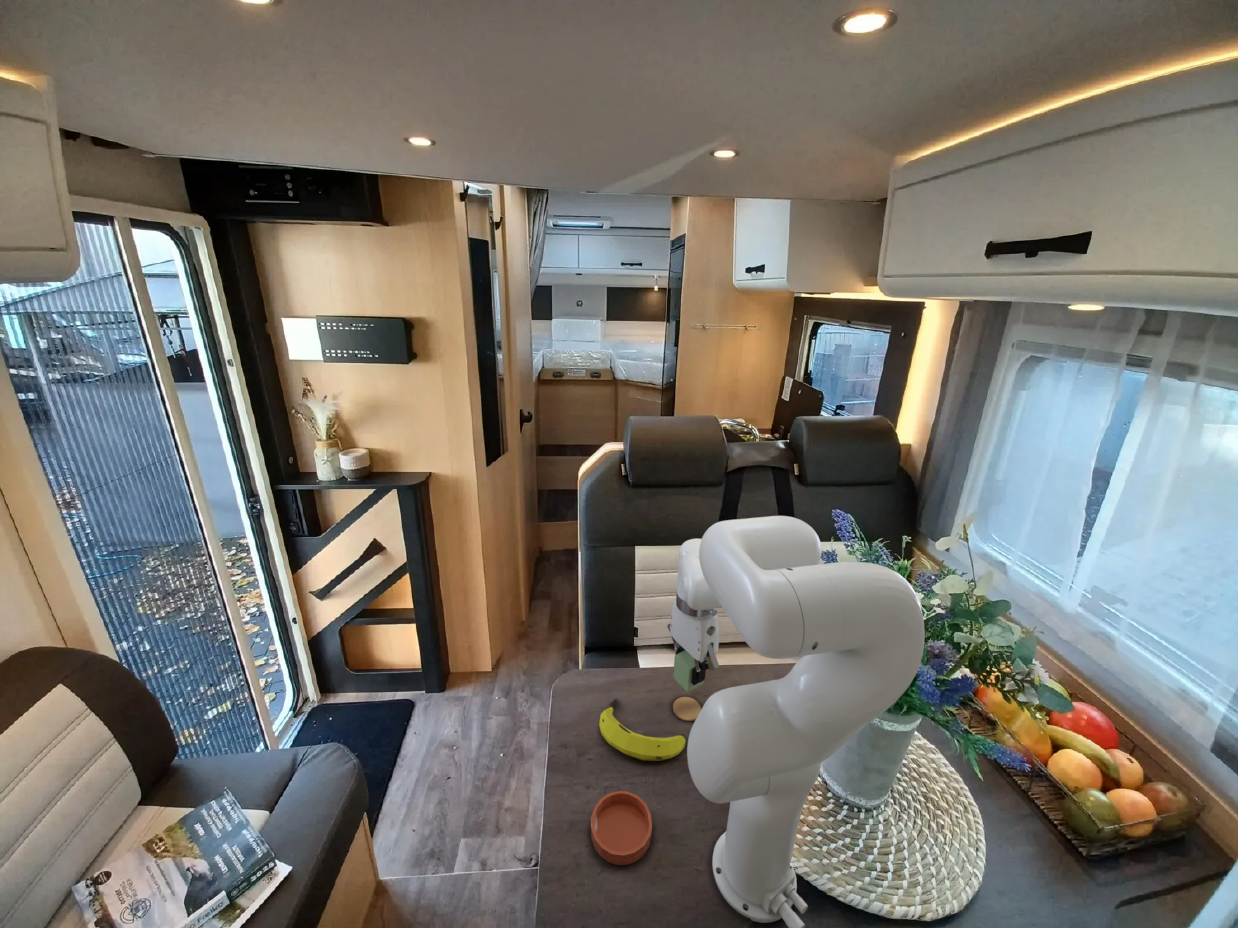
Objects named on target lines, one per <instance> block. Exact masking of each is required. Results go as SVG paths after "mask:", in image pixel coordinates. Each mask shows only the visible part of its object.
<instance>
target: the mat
mask: <svg viewBox="0 0 1238 928" xmlns="http://www.w3.org/2000/svg"><path fill="white" fill-rule="evenodd" d="M701 709H702V707H701V704H700V702H698V701H697V700H696V699H694V698H693V697H690V696H681V697H678V698H677V699H676V700H674V702H673V704H672V710H673V713H674V716H676V717H677V718H678V719H680V720H681V721H684V722H693V721H694V722H695V720H696V719H697V717H698V715H699V713H700V711H701Z"/></svg>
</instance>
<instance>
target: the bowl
mask: <svg viewBox="0 0 1238 928" xmlns="http://www.w3.org/2000/svg"><path fill="white" fill-rule="evenodd" d="M652 819H653V818H652V813H651V811H650V809H649V807H648V804H647V803H646V802H645V801H644V800H643V799H642V798H641V797H640V796H639V795H637V794H635V793H633V792H631V791H626V790H617V791H612V792H609V793H607V794H606V795H604V796H603V797H601V798H600V799H599V800H598V801H597V803H596V804H595V805H594V807H593V810H592V813H591V816H590V838H591V841H592V845H593V847H594V849H595V851H596V852H597V854H598V855H599V856H600V857H601V859H603V860H604V861H606V862H608V863H609V864H612V865H617V866H626V865H631V864H634V863H635V862H637V861H638V860H640V859H641V858H642V857H643V856H644V855H645V854H646V853H647V851H648V849H649V848H650V845H651V841H652V837H653V820H652Z"/></svg>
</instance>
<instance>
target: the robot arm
mask: <svg viewBox="0 0 1238 928" xmlns="http://www.w3.org/2000/svg"><path fill="white" fill-rule="evenodd" d="M822 550H823V549H822V543H821V539H820V538H819V535H818V534H817V532H816V530H814V528H813V526H810V524H808V523H807V522H806V521H803V520H802V519H799V518H797V517H793V516H788V515H769V516H759V517H750V518H749V517H748V518H737V519H728V520H727V519H725V520H721V521H718V522H715V523H713V524H712V525H711V526H710V527H708V528H707V530H706V531H705V532H704V533H703V535H702V537H701V538H691V539H687V540H685V541H684V542H683V543H682V544H681V545H680V547H679V550H678V551H679V552H678V566H677V581H676V582H677V583H676V594H675V595H676V597H675V599H674V602H673V605H672V608H671V609H672V610H671V615H670V622H669V623H668V624H667V629H668V632H669V633H670V636H671V639H672V643H673V650H674V651H675V652H674V654H675V655H676V654H678V653H680V652H682V651H684V650H686V651H687V652H688V653H689V654H690V655H691V656H692V657H694V663H695V668H693V672H692V684H693V685H696V684H698V683H701V682H703V681H704V679H706V673H707V670H709V671H715V670H717V669H719V668H720V664H719V661H718V659H717V655H718V653H719V646H720V624H719V617H718V610H717V609H721V608H722V609H723V610H724V612H725V614H726V615H727V616H728V618H729V619H730V621H731V623H732V625H733V626H734V628H735V629H736V631H737V632H738V634H739V635H740V636H741V638H742V639H743V641H744V642H745V643H746V644H747V646H748V647H750V649H751V650H752V651H754V652H755V653H756V654H758V655H759V656H761V657H764V658H768V659H773V660H785V659H787V660H788V659H794V658H799V657H801V658H800V659H798V660H797V661H796V663H795V664H794V665H793V667H792V668H791V670H790V671H789V672H788V673H787V674H786V675H785V676H784V677H781V678H778V679H772V680H766V681H761V682H755V683H749V684H742V685H736V686H731V687H726V688H723V689H720V690H718V691H716V692H714V693H712V694H711V695H710V696H709V697H708V698H707V700H706V701H705V702H704V704H703V705H702V707H701V711H700V713H699V715H698V717H697V719H696V720H694V722H693V724H692V726H691V728H690V731H689V735H688V740H687V747H686V749H687V751H686V758H687V766H688V772H689V774H690V777H691V779H692V782H693V784H694V786H695V788H696V789H697V790H698V792H699V793H700V794H701V795H702V796H703V798H705V799H706V800H707V801H709V802H710V803H714V804H728V803H729V810H728V817H727V824H726V830H725V832H723V833H722V834H721V835H720V836H719V838H718V839H717V840H716V843H715V845H714V848H713V853H712V858H711V859H712V861H711V866H712V873H713V874H712V875H713V878H714V882H715V884H716V886H717V888H718V890H719V891H720V894H721V895H722V897H723V898H724V900H725V901H726V903H728V905H729V906H730V907H732V909H734V910H735V911H736V912H737V913H739V914H741V915H742V916H744V917H745V918H747V919H750V921H753V922H757V923H761V924H767V923H773V922H777V921H779V920H781V919H782V920H783V922H784V923H785V925H786V926H787V928H805V927H806V924H805V923H804V922H803V920H802V919H801V918H800V917H799V916H798V914H797V913H796V912H795V911H794V910H793V909H792V907H793V905H794V906H795V908H796V909H797V911H798V912H799V913H800V914H801V915H804V914H805V913H806V911H807V910H808V907H809V905H808V903H806V901H805V900H804V899H803V898H802V896H800V895H799V894H798V893H797V888H798V883H797V874H796V869H795V867H794V866H793V867H794V868H793V867H792V866H790V863H791V861H792V858H793V853H794V850H795V843H796V839H797V835H798V831H799V825H800V822H801V818H802V813H803V809H804V806H805V803H806V800H807V798H808V796H809V795H810V793H811V791H812V790H813V788H814V786H815V784H816V782H817V780H818V777H819V774H820V771H821V766H822V762H825V761H826V760H827V759H828V758H830V757H831V756H832V755H834V754H835V753H836V752H837V751H838V750H840V748H842V747H843V746H844V745H846V744H847V743H848V742H849V741H851V739H853V738H854V737H855V736H856V735H857V734H858V733H860V731H862V730H863V729H864V728H865V727H867V726H868V725H870V723H872V722H873V721H874V720H876V719H877V718H878V717H880V716H881V715H882V714H884V713H885V712H886V711H888V709H890V707H892V706H893V705H894V704H895V703H896V702H897V701H898V700H899V699H900V698H901V697H902V696H903V694H904V693H905V692H906V691H907V690H908V689H909V687H910V685H911V684H912V682H913V680H914V678H916V676H917V673H918V671H919V669H920V666H921V663H922V659H923V656H924V650H925V649H924V648H925V638H926V637H925V621H924V615H923V610H922V605H921V603H920V599H919V597H918V595H917V593H916V591H915V589H914V588H913V586H912V585H911V583H909V581H908V580H907V579H906V578H905V577H904V576H902V575H901V574H900V573H898V572H897V571H896V570H893V569H891V568H889V567H887V566H884V565H881V564H877V563H873V562H865V561H839V562H829V563H822V564H821V563H820V562H821V557H822ZM675 655H674V656H675ZM700 662H701V663H700ZM704 682H705V681H704ZM794 869H795V870H794ZM718 872H719V873H718ZM745 909H746V910H745Z"/></svg>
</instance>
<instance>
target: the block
mask: <svg viewBox="0 0 1238 928" xmlns="http://www.w3.org/2000/svg"><path fill="white" fill-rule="evenodd" d="M673 660H674V661H673V674H672V675H673V676H672V678H673V679H674V680H675V681H676V682H677V683H678V684H679V685H680V686H681V687H682V688H683V690H685V691H686V692H687V693H690V692H691V691H692V690H694V689H696V688H698V687H699V686H701V685H704V683H705V681H706V680H705V679H706V678H705V679H704V681H703V682H701V683H698V684H696V685H693V684H692V672H693V668H695V663H694V657H692V656H691V655H690V654H689V653H688V652H687V651H686V650H684V651H682V652H680V653H678V654H676V655H674V659H673ZM700 663H701V662H700Z"/></svg>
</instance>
